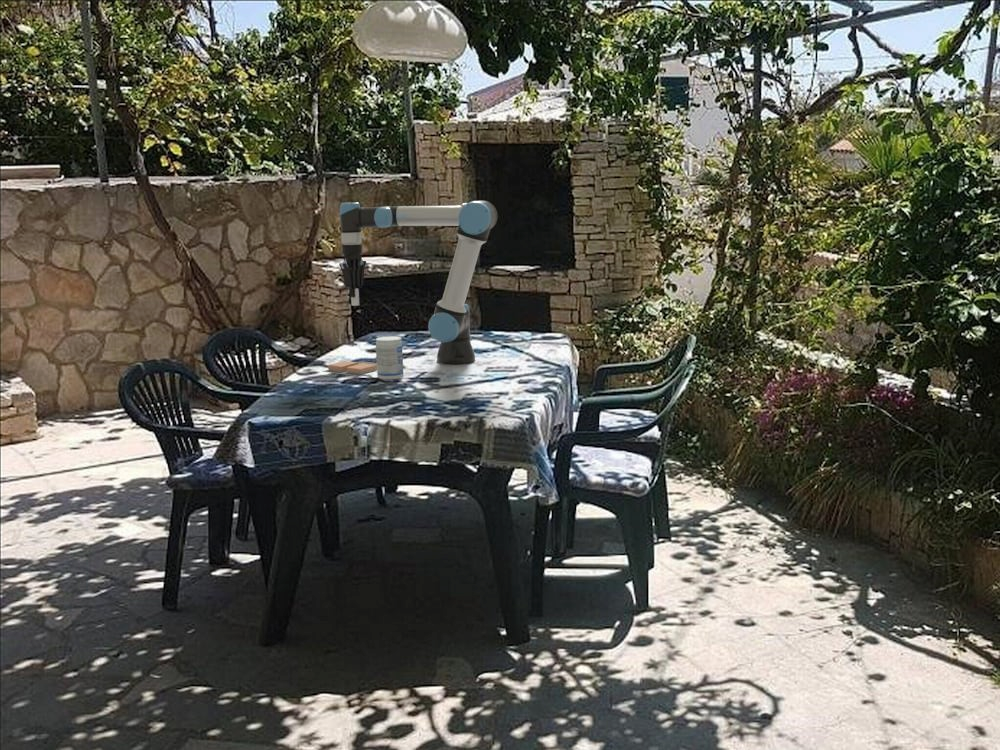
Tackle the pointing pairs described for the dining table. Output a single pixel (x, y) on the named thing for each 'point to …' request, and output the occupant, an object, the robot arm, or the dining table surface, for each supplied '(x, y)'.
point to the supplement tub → (389, 358)
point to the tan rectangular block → (361, 368)
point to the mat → (349, 373)
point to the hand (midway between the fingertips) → (355, 305)
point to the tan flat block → (341, 366)
